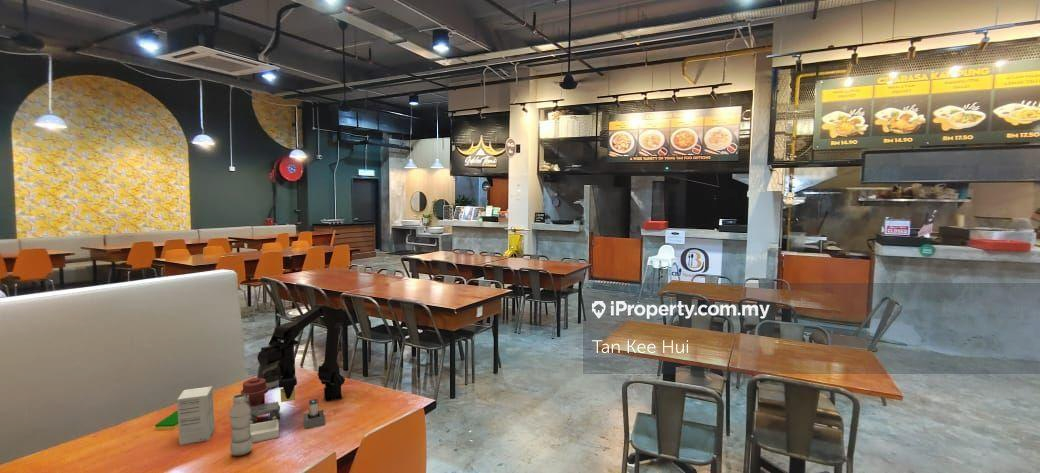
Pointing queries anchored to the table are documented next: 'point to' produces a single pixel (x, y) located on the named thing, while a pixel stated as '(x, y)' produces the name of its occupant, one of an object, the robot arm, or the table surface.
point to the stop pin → (313, 408)
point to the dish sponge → (168, 422)
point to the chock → (283, 396)
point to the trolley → (264, 411)
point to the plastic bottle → (240, 426)
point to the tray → (264, 431)
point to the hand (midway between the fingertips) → (288, 396)
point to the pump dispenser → (270, 382)
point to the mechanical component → (255, 391)
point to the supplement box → (195, 415)
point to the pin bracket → (314, 420)
